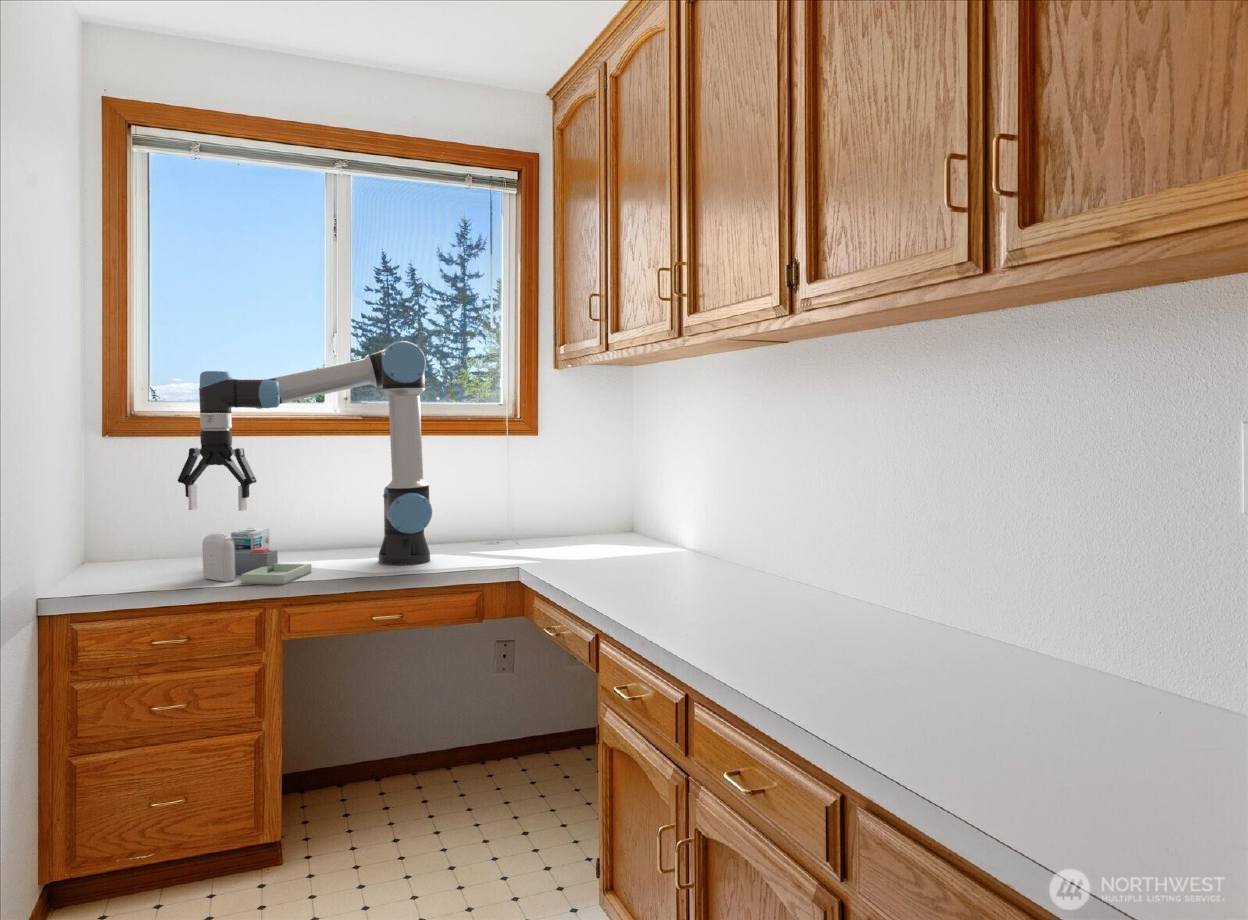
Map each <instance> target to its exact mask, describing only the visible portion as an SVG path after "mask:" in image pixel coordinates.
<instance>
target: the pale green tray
mask: <svg viewBox="0 0 1248 920" xmlns="http://www.w3.org/2000/svg"><path fill="white" fill-rule="evenodd" d="M272 565H273V566H272ZM272 565H270V566H271V568H270V566H269V567H268V568H267V566H263V567H260V568H257V569H255V570H252V571H249V572H246V573H244V574H241V575H240V576H241V584H242V585H283V586H284V585H287V584H289V583H292V582H293V581H296V580H298V579H300V578H303V577H305V576H307V575H309V574H311V573H312V564H311V563H275V564H272ZM267 569H272V570H274V571H272V572H270V573H267ZM269 571H271V570H269ZM269 571H268V572H269Z"/></svg>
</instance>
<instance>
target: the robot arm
mask: <svg viewBox="0 0 1248 920" xmlns="http://www.w3.org/2000/svg"><path fill="white" fill-rule="evenodd" d="M426 367H427V359H426V356H425V354H424V352H423V350H422V349H421V348H420V347H419V346H418V345H416V344H415V343H413V342H410V341H405V340H399V341H394V342H392V343H390V344H389V345H387V347H386V348H383V349H382V350H380V351H378V352H373V353H369V354H367V355H365V357H364V358H363V359H359V360H353V361H347V362H344V363H343V362H342V363H339V364H334V365H329V366H324V367H320V368H316V369H315V368H314V369H310V370H306V371H301V372H296V373H291V374H288V375H287V374H286V375H281V376H277V377H273V378H267V379H265V378H264V379H238V378H232V375H231V372H229V371H225V370H224V371H219V370H205V371H202V372H201V373H200V374H199V387H198V391H199V396H198V397H199V421H200V424H199V426H200V429H201V431H200V432H199V433H200V445H201V448H198V447H190V448H189V449H188V456H187V459H186V461H185V463H184V465H183V467H182V469H181V472H180V474H179V476H178V478H177V482H178V483H180V484H183V485H184V486H185V487H184V490H185V491H184V492H185V498H188V511H194V510H197V509H198V485H197V484H195V482H196V481H197V480H198V479H199V477H200V476H201V475H202V474H203V472H204V471H205V470H206V468H208V467H209V466H224V467H226V468H227V469H228V471H229V472H230V473H231V474H232V475H233V477H234V478H235V479H236V481H238V483H239V484H240V485H238V486H237V491H238V493H237V497H238V499H237V500H238V511H239V512H240V511H241V512H242V511H246V510H247V498H249V497H250V485H252V484H255V483H257V478H256V476H255V474H254V472H253V470H252V467H250V464H249V462H248V460H247V458H246V456H245V455H246V454H245V449H244V448H242V447H237V448H235V449H234V448H233V447H232V444H233V431H231V430H230V429H232V428H233V423H232V422H233V420H232V418H233V417H232V408H237V409H238V408H248V409H251V408H252V409H254V408H255V409H258V410H259V409H260V410H261V409H270V408H271V409H272V408H273V409H274V408H278V407H279V406H280V405H281V404H286V403H290V402H296V401H299V400H303V399H309V398H313V397H318V396H322V395H326V394H331V393H337V392H341V391H346V390H349V389H354V388H359V387H364V386H369V385H372V386H373V387H380V386H382V391H383V392H384V393H385V394H386V395H387V396H388V411H389V412H388V414H389V433H390V435H389V437H390V439H389V440H390V457H391V462H390V463H391V479H392V480H391V481H390V482H389V483H388V485H386V486H385V487H384V488H383V495H382V496H383V513H384V514H383V517H384V518H383V520H384V521H383V531H384V532H383V533H384V534H383V535H384V536H383V539H382V542H381V546H380V548H379V552H378V563H380V564H383V565H391V566H392V565H397V566H398V565H399V566H400V565H402V566H403V565H404V566H405V565H416V564H422V563H427V562H429V561H431V551H430V548H429V546H428V542H427V539H426V536H425V528H427V526H428V525H429V524H430V522H431V519H432V516H433V508H432V504H431V502H430V484H429V483H428V482H427V481H426V480H425V479H424V469H423V446H422V445H423V443H422V441H423V440H422V421H421V420H422V417H421V394H422V393H423V392H424V391H425V390H426V386H425V384H426V383H425V381H426V380H425V371H426V369H427V368H426ZM199 456H201V457H202V458H201V459H200V461H199V462H198V465H197V466H196V467H195V464H196V463H197V460H198V457H199ZM232 456H234V457H235V459H236V461H237V463H238V465H239V467H238V466H237V464H236V463H235V461H234V460H233V458H232ZM194 467H195V468H194Z"/></svg>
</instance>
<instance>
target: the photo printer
mask: <svg viewBox="0 0 1248 920" xmlns="http://www.w3.org/2000/svg"><path fill="white" fill-rule="evenodd" d="M201 546H202V547H201V548H202V573H203V574H202V576H203V578H204V579H207V580H212V581H217V582H224V583H226V582H232V581H235V580H236V579H237V578H236V577H237V575H236V571H235V543H234V541H233V539H232V538H231V536H229V535H227V534H224V533H221V532H219V533H218V532H217V533H210V534H208V535H206V536H205V537H203V539H202V545H201Z"/></svg>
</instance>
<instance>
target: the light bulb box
mask: <svg viewBox="0 0 1248 920" xmlns="http://www.w3.org/2000/svg"><path fill="white" fill-rule="evenodd" d="M230 538H232V539H233V541H234V543H235V550H252V549H255V548H269V549H270V528H268V527H267V528H266V527H262V528H261V527H260V528H259V527H247V528H242V529H239V530H235V531H233V532H230Z"/></svg>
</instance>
